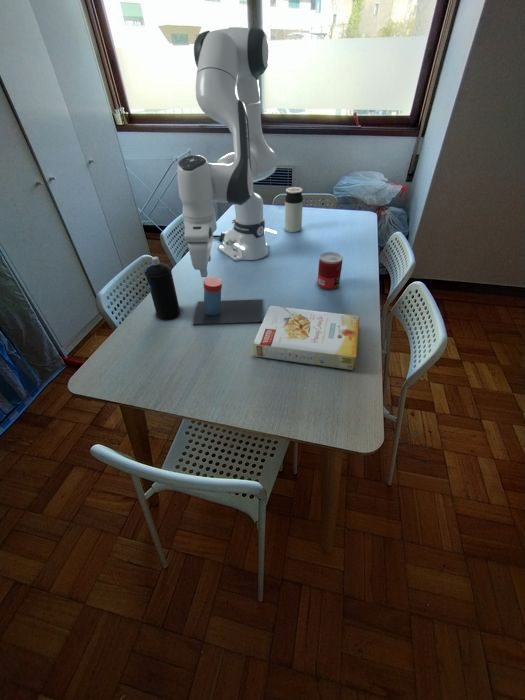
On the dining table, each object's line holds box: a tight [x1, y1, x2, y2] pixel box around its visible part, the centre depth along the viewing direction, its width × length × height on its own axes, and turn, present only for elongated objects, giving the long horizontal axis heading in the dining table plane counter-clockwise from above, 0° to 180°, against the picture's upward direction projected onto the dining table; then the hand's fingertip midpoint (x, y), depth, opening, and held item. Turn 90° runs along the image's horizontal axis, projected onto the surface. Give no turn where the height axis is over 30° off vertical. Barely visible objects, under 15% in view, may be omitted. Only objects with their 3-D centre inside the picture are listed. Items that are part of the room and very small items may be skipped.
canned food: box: [317, 251, 344, 291], centre depth 124 cm, size 8×8×11 cm
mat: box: [192, 299, 263, 326], centre depth 116 cm, size 22×13×1 cm, turn 91°
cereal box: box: [253, 305, 361, 371], centre depth 102 cm, size 20×6×28 cm
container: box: [203, 276, 223, 315], centre depth 112 cm, size 6×6×11 cm
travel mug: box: [284, 186, 304, 233], centre depth 162 cm, size 8×8×18 cm
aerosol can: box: [143, 256, 182, 321], centre depth 111 cm, size 8×8×20 cm
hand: (206, 268), depth 106 cm, fingers open, 8 cm apart
